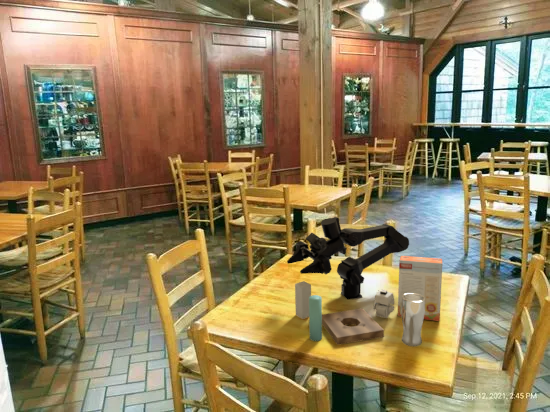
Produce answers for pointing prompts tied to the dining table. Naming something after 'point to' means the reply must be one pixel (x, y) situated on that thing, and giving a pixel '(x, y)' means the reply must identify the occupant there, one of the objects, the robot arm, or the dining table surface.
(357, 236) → the robot arm
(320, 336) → the round dowel
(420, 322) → the beer glass
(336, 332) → the socket board
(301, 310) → the square dowel
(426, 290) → the cracker box
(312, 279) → the dining table surface
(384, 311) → the white blocky figure
